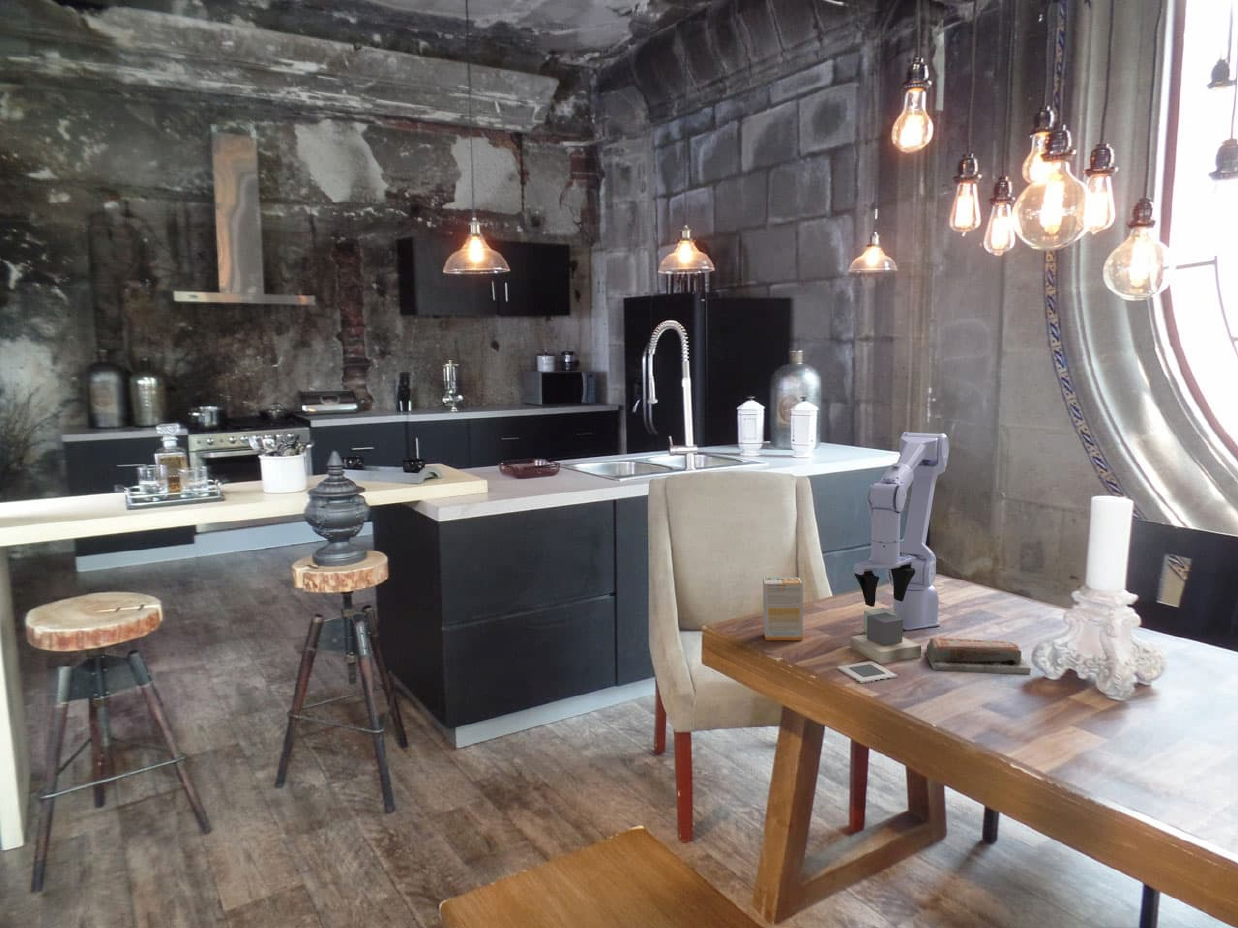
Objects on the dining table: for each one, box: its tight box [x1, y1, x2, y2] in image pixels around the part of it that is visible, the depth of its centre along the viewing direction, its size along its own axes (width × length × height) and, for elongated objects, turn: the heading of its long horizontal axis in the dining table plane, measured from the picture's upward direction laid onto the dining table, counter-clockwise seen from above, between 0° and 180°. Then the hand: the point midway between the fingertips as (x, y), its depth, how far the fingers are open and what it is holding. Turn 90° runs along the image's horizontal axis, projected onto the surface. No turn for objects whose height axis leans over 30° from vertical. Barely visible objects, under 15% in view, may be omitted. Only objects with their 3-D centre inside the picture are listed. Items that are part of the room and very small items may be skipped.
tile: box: [837, 660, 898, 684], centre depth 163 cm, size 8×8×1 cm
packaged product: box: [924, 637, 1032, 675], centre depth 167 cm, size 18×5×10 cm
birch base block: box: [849, 633, 922, 665], centre depth 174 cm, size 10×10×3 cm
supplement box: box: [762, 577, 804, 641], centre depth 183 cm, size 8×5×13 cm, turn 84°
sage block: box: [863, 607, 897, 634], centre depth 185 cm, size 5×5×5 cm
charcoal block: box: [866, 612, 904, 646], centre depth 173 cm, size 5×5×5 cm
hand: (884, 602), depth 177 cm, fingers open, 7 cm apart
